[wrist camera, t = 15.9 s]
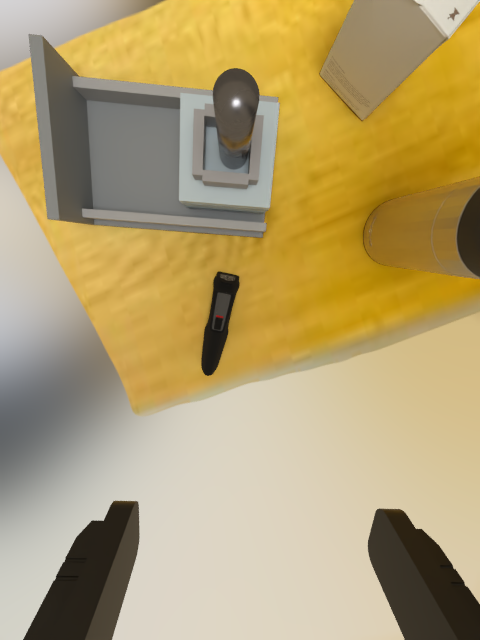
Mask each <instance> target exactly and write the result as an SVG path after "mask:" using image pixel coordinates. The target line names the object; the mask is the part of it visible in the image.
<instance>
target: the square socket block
mask: <svg viewBox="0 0 480 640" xmlns="http://www.w3.org/2000/svg"><path fill="white" fill-rule="evenodd" d="M279 105H280V103H276V102H266V101H259V104H258V109H257V114H256V119H255V124H254V129H253V133H252V138H251V143H250V148H249V153H248V158H247V161H246V163H245V164H244V165H243V166H242V167H241V168H239V169H235V170H233V169H229V168H227V167H226V166H224V165H223V163H222V162H221V159H220V154H219V146H218V138H217V129H216V121H215V113H214V104H213V96H207V95H198V94H188V93H180V160H179V201H180V202H181V203H182V204H184V205H185V207H187V208H193V209H205V210H217V211H230V212H242V213H254V214H263V213H265V212H266V211H268V209H269V208H270V200H271V190H272V179H273V169H274V158H275V147H276V137H277V126H278V116H279Z"/></svg>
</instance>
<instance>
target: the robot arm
mask: <svg viewBox="0 0 480 640" xmlns="http://www.w3.org/2000/svg"><path fill="white" fill-rule="evenodd" d="M363 240H364V246H365V249H366V251H367V253H368V254H369V256H370V257H371V258H372V259H373V260H374V261H376V262H378V263H379V264H383V265H386V266H393V267H400V268H406V269H413V270H420V271H426V272H433V273H440V274H447V275H454V276H460V277H468V278H475V279H480V177H476V178H473V179H469V180H465V181H461V182H457V183H454V184H450V185H446V186H442V187H438V188H434V189H430V190H427V191H423V192H419V193H415V194H411V195H407V196H403V197H399V198H396V199H392V200H389V201H387V202H385V203H383V204H381V205H380V206H378V207H377V208H376V209H375V210H374V211H373V212H372V214H371V215H370V216H369V218H368V220H367V222H366V225H365V228H364V234H363ZM138 506H139V505H138V502H137V501H114V502H113V503H112V504H111V506H110V508H109V511H108V513H107V515H106V517H105V519H104V521H91V522H90V523H89V525H87V527H86V528H85V529H84V530H83V531H82V532H81V533H80V534H79V535H78V536H77V537H76V539H75V541H74V543H73V545H72V547H71V549H70V551H69V553H68V554H67V556H66V560H65V562H64V563H63V564H62V566H61V568H60V570H59V572H58V574H57V576H56V579H55V581H53V583H52V585H51V587H50V589H49V591H48V593H47V595H46V597H45V599H44V601H43V602H42V604H41V607H40V608H39V610H38V612H37V614H36V616H35V618H34V620H33V622H32V624H31V626H30V628H29V629H28V632H27V633H26V635H25V637H24V639H23V640H112V637H113V634H114V630H115V627H116V623H117V620H118V617H119V613H120V610H121V607H122V603H123V600H124V596H125V593H126V590H127V587H128V583H129V580H130V576H131V573H132V570H133V566H134V563H135V559H136V556H137V550H138V544H139V507H138ZM368 552H369V557H370V560H371V563H372V566H373V568H374V571H375V573H376V575H377V577H378V580H379V582H380V584H381V586H382V589H383V591H384V593H385V595H386V597H387V600H388V602H389V604H390V607H391V609H392V611H393V614H394V616H395V618H396V620H397V622H398V625H399V627H400V630H401V632H402V634H403V636H404V638H405V640H480V604H479V603H478V601H477V600H476V598H475V597H474V596H473V594H472V593H471V591H470V590H469V588H468V587H466V586H465V584H464V581H463V580H462V578H461V577H460V575H459V574H458V572H457V571H456V569H453V565H452V564H451V562H450V561H449V559H448V558H447V556H446V555H445V554H444V552H443V551H442V549H441V548H440V546H439V545H438V544H437V543H436V542H435V541H434V540H433V539H432V538H430V537H429V536H428V535H427V534H426V533H425V532H424V531H423V530H422V529H416V528H415V527H414V525H413V524H412V522H411V521H410V519H409V518H408V516H407V515H406V513H405V512H404V511H402V510H400V509H377V510H376V513H375V516H374V520H373V524H372V528H371V532H370V536H369V540H368Z"/></svg>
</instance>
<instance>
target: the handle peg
mask: <svg viewBox="0 0 480 640" xmlns="http://www.w3.org/2000/svg"><path fill="white" fill-rule="evenodd" d="M213 104H214V113H215V121H216V129H217V138H218V146H219V154H220V159H221V162H222V163H223V165H224V166H226V167H227V168H229V169H233V170H235V169H239V168H241V167H242V166H243V165H244V164H245V163H246V161H247V158H248V153H249V148H250V143H251V138H252V133H253V129H254V124H255V119H256V114H257V109H258V104H259V89H258V85H257V83H256V81H255V79H254V78H253V77H252V76H251V75H250V74H249V73H248V72H246V71H245V70H242V69H238V68H234V69H229V70H227V71H225V72H223V73H222V74H221V75H220V76H219V77H218V79H217V80H216V82H215V85H214V88H213Z"/></svg>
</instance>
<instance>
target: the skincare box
mask: <svg viewBox="0 0 480 640" xmlns="http://www.w3.org/2000/svg"><path fill="white" fill-rule="evenodd" d="M479 1H480V0H354V2H353V4H352V6H351V8H350V10H349V12H348V14H347V16H346V19H345V21H344V23H343V25H342V27H341V29H340V31H339V33H338V35H337V38H336V40H335V42H334V44H333V46H332V48H331V50H330V52H329V54H328V56H327V59H326V61H325V63H324V65H323V67H322V69H321V71H320V76H321V77H322V78H323V79H324V80H325V81H326V82H327V83H328V84H329V85H330V87H331V88H332V89H333V90H334V91H335V92H336V93H337V94H338V95H339V96H340V97H341V99H342V100H343V101H344V102H345V103H346V104H347V105H348V106H349V107H350V108H351V109H352V110H353V111H354V112H355V114H356V115H357V116H358V117H359V118H360V119H361V120H364V119H365V118H367V117H368V116H369V115H370V114H371V113H372V112H373V111H374V110H375V109H376V108H377V107H378V106H379V105H380V104H381V103H382V102H383V101H384V100H385V99H386V98H387V97H388V96H389V95H390V94H391V93H392V92H393V91H394V90H395V89H396V88H397V87H398V86H399V85H400V84H401V83H402V82H403V81H404V80H405V79H406V78H407V77H408V76H409V75H410V74H411V73H412V72H413V71H414V70H415V69H416V68H417V67H418V66H419V65H420V64H422V63H423V62H424V61H425V60H426V59H427V58H428V57H429V56H430V55H431V54H432V53H433V52H434V51H435V50H436V49H437V48H438V47H439V46H440V45H442V44H443V43H444V42H445V41H447V40H448V39H449V38H450V37H451V36H452V34H453V33H454V32H455V31H456V30H457V28H458V27H459V26H460V25H461V24H462V22H463V21H464V20H465V19H466V17H467V16H468V15H469V14H470V12H471V11H472V10H473V9H474V7H475V6H476V5H477V4H478V3H479Z"/></svg>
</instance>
